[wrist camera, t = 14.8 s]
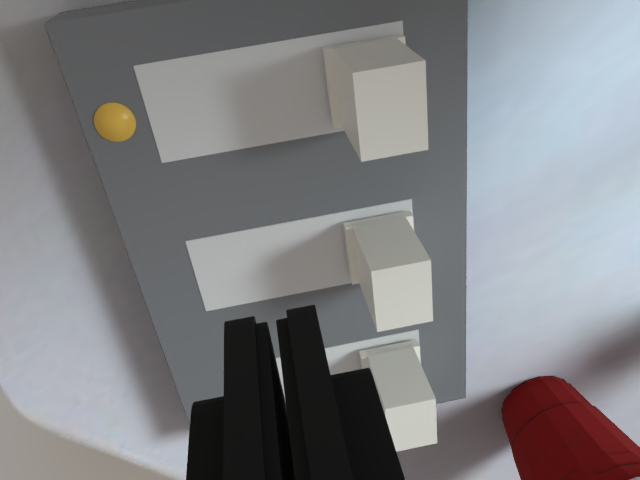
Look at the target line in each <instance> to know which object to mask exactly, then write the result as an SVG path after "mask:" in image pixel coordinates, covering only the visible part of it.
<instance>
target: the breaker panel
mask: <svg viewBox="0 0 640 480" xmlns="http://www.w3.org/2000/svg"><path fill="white" fill-rule="evenodd" d="M44 25H45V27H46V30H47V33H48V36H49V38H50V41H51V44H52V47H53V49H54V52H55V55H56V58H57V60H58V63H59V66H60V69H61V71H62V74H63V77H64V80H65V82H66V85H67V88H68V91H69V93H70V96H71V99H72V102H73V105H74V107H75V110H76V113H77V116H78V118H79V121H80V124H81V127H82V129H83V132H84V135H85V138H86V140H87V143H88V146H89V149H90V151H91V154H92V157H93V160H94V162H95V165H96V168H97V171H98V173H99V176H100V179H101V182H102V184H103V187H104V190H105V193H106V195H107V198H108V201H109V204H110V206H111V209H112V212H113V215H114V217H115V220H116V223H117V226H118V228H119V231H120V234H121V237H122V239H123V242H124V245H125V248H126V250H127V253H128V256H129V259H130V261H131V264H132V267H133V270H134V272H135V275H136V278H137V281H138V283H139V286H140V289H141V292H142V294H143V297H144V300H145V303H146V305H147V308H148V311H149V314H150V316H151V319H152V322H153V325H154V327H155V330H156V333H157V336H158V338H159V341H160V344H161V347H162V349H163V352H164V355H165V358H166V360H167V363H168V366H169V369H170V371H171V374H172V377H173V380H174V382H175V385H176V388H177V391H178V393H179V396H180V399H181V402H182V405H183V407H184V410H185V413H186V416H187V418H188V421H189V424H190V418H191V409H192V405H193V402H196V401H201V400H206V399H212V398H217V397H222V396H224V323H225V321H230V320H235V319H241V318H246V317H251V316H254V317H255V319H256V323H262V322H267V323H268V327H269V331H270V336H271V340H272V345H273V349H274V354H275V358H276V362H277V367H278V371H279V376H280V380H281V385H282V389H283V394H284V398H285V392H284V384H283V375H282V367H281V358H280V350H279V342H278V333H277V325H276V320H278V319H283V318H287V313H286V310H288V309H293V308H299V307H304V306H309V305H315V307H316V312H317V316H318V321H319V325H320V330H321V334H322V339H323V343H324V348H325V352H326V357H327V361H328V366H329V371H330V375H334V374H339V373H344V372H349V371H354V370H359V369H361V361H360V353H359V351H362V350H367V349H372V348H376V347H381V346H386V345H391V344H396V343H401V342H406V341H411V340H416V339H417V340H418V343H419V345H420V358H421V366H422V368H423V370H424V373H425V375H426V377H427V380H428V382H429V384H430V387H431V389H432V391H433V393H434V396H435V398H436V404H438V403H443V402H448V401H453V400H458V399H462V398H466V198H467V0H135V1H129V2H123V3H117V4H111V5H104V6H98V7H92V8H86V9H79V10H73V11H67V12H62V13H60V14H59V15H57V16H56V17H54V18H53V19H51V20H50V21H48V22H47V23H45V24H44ZM398 34H402V35H404V36H405V41H406V46H407V47H409V48H410V49H411V50H413V51H414V52H415V53H417V54H418V55H419V56H421V57H422V58H423V59H424V60H426V87H427V118H428V148H429V150H424V151H419V152H413V153H408V154H402V155H397V156H391V157H386V158H380V159H375V160H369V161H364V162H361V161H360V159H359V157H358V155H357V153H356V151H355V149H354V148H353V146H352V144H351V142H350V140H349V138H348V137H347V135H346V133H345V131H344V129H343V127H342V128H336V129H334V128H333V126H332V121H331V112H330V104H329V96H328V88H327V80H326V72H325V64H324V56H323V48H322V47H327V46H333V45H339V44H345V43H351V42H357V41H363V40H369V39H375V38H381V37H387V36H392V35H398ZM409 210H410V211H411V213H412V214H413V221H414V232H415V234H416V235H417V237H418V239H419V240H420V242H421V244H422V245H423V247H424V249H425V250H426V252H427V254H428V256H429V257H430V259H431V273H432V302H433V321H431V322H426V323H421V324H416V325H411V326H406V327H401V328H396V329H391V330H386V331H381V332H377V330H376V328H375V325H374V322H373V319H372V317H371V314H370V311H369V308H368V306H367V303H366V300H365V297H364V295H363V292H362V289H361V286H360V284H353V285H352V282H351V280H350V273H349V265H348V257H347V249H346V241H345V233H344V225H343V223H345V222H350V221H356V220H361V219H366V218H372V217H377V216H382V215H388V214H393V213H398V212H404V211H409ZM285 402H286V400H285Z"/></svg>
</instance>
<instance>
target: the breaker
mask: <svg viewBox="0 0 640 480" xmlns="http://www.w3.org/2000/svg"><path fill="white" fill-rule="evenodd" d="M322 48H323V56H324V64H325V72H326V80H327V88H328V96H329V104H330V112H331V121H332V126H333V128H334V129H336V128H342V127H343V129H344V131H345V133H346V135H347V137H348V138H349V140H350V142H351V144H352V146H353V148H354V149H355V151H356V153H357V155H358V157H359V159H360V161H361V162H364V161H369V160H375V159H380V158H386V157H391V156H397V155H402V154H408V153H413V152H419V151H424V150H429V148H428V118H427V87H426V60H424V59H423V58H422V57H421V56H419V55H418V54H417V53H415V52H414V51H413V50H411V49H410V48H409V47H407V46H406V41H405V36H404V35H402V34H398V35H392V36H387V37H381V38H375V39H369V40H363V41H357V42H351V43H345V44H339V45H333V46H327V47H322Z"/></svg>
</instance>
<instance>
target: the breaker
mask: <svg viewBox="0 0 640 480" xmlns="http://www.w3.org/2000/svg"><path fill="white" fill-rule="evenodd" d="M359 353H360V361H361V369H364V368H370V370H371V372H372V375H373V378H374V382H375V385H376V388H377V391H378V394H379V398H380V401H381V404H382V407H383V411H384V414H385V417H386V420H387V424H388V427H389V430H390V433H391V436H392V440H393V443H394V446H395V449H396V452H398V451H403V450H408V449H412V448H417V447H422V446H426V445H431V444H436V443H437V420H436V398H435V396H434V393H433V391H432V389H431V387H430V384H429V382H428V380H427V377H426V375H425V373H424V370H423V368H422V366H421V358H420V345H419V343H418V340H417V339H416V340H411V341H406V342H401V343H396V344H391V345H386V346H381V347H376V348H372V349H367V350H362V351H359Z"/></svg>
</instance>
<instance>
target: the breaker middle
mask: <svg viewBox="0 0 640 480" xmlns="http://www.w3.org/2000/svg"><path fill="white" fill-rule="evenodd" d="M343 225H344V233H345V241H346V249H347V257H348V265H349V273H350V280H351V282H352V285H353V284H360V286H361V289H362V292H363V295H364V297H365V300H366V303H367V306H368V308H369V311H370V314H371V317H372V319H373V322H374V325H375V328H376V330H377V332H381V331H386V330H391V329H396V328H401V327H406V326H411V325H416V324H421V323H426V322H431V321H433V302H432V273H431V259H430V257H429V256H428V254H427V252H426V250H425V249H424V247H423V245H422V244H421V242H420V240H419V239H418V237H417V235H416V234H415V232H414V221H413V214H412V213H411V211H410V210H409V211H404V212H398V213H393V214H388V215H382V216H377V217H372V218H366V219H361V220H356V221H350V222H345V223H343Z"/></svg>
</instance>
